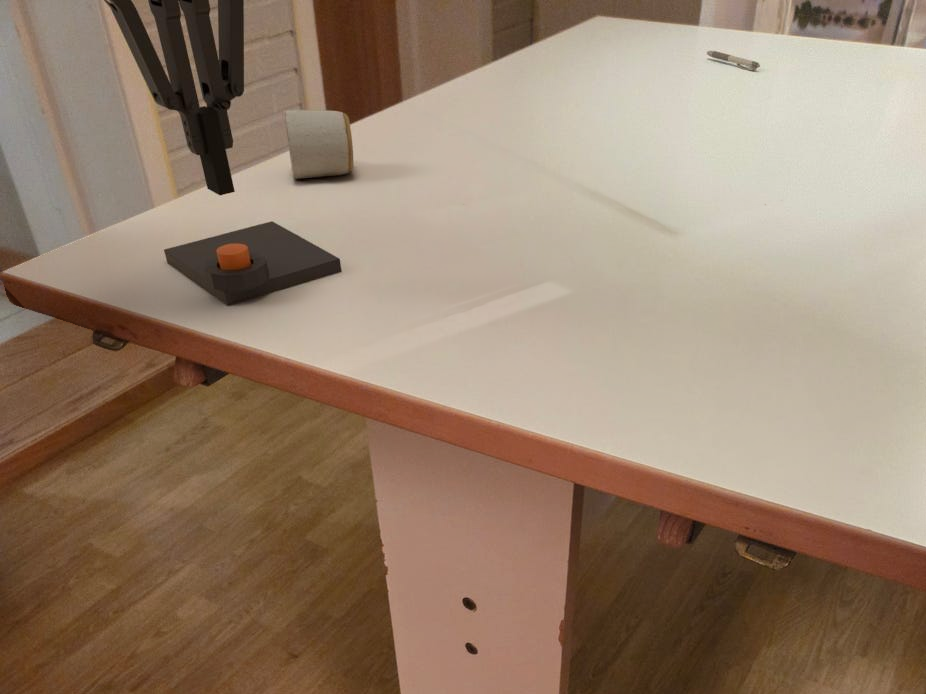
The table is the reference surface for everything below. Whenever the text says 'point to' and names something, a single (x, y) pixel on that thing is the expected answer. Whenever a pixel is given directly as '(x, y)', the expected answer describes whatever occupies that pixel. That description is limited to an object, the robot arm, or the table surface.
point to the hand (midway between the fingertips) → (221, 190)
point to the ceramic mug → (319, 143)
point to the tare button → (233, 257)
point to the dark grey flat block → (253, 263)
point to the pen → (735, 60)
